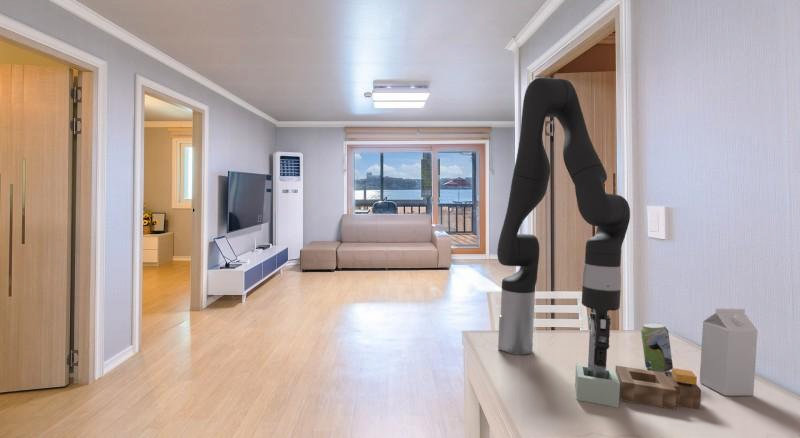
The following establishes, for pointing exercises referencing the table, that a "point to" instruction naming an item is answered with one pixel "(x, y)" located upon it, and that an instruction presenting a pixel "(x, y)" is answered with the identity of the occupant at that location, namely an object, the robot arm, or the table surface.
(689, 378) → the orange square-headed peg
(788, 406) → the table surface
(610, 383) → the rack
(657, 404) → the socket block
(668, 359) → the beverage can
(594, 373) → the peg
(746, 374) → the milk carton
